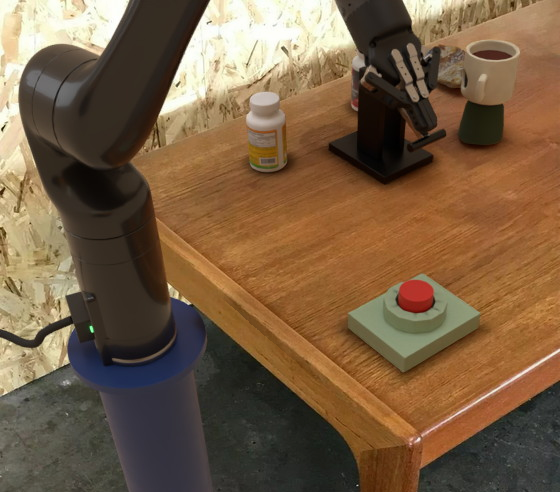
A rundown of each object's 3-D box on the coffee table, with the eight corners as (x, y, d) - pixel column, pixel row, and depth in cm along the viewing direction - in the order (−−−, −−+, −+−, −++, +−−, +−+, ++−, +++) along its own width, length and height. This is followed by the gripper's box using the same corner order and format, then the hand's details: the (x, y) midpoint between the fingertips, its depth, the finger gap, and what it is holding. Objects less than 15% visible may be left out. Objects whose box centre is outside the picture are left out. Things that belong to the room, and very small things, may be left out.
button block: (403, 373, 82) (406, 345, 79) (347, 327, 87) (348, 300, 84) (478, 328, 86) (483, 300, 83) (420, 287, 92) (423, 259, 89)
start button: (414, 318, 82) (415, 306, 81) (391, 301, 85) (391, 288, 83) (439, 304, 84) (441, 291, 83) (415, 287, 86) (417, 275, 85)
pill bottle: (344, 102, 124) (346, 40, 117) (375, 95, 125) (378, 33, 118) (360, 117, 120) (362, 54, 113) (391, 110, 122) (395, 46, 115)
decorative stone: (463, 72, 118) (408, 48, 129) (462, 101, 121) (408, 75, 132) (515, 57, 121) (457, 35, 132) (513, 86, 124) (456, 61, 135)
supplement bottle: (269, 149, 115) (266, 84, 108) (295, 162, 112) (293, 97, 105) (241, 163, 112) (236, 98, 106) (267, 177, 110) (263, 111, 103)
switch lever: (442, 142, 105) (450, 130, 103) (408, 157, 103) (416, 146, 101) (391, 72, 107) (398, 60, 105) (357, 86, 105) (363, 73, 103)
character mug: (465, 117, 119) (476, 30, 110) (512, 125, 117) (528, 37, 108) (444, 153, 112) (455, 62, 103) (494, 162, 110) (510, 70, 101)
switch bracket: (432, 162, 111) (442, 73, 102) (384, 184, 107) (389, 94, 98) (375, 129, 118) (379, 43, 109) (328, 150, 114) (328, 62, 105)
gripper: (343, 3, 94) (407, 136, 96) (425, -25, 99) (484, 102, 101) (316, 34, 101) (376, 158, 103) (393, 7, 106) (449, 125, 108)
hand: (429, 130), depth 102 cm, fingers closed
